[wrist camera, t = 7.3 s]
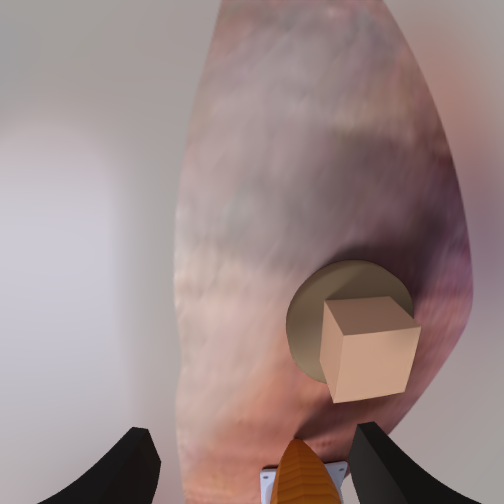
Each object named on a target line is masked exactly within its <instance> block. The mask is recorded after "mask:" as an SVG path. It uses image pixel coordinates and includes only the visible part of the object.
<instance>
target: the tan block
mask: <svg viewBox="0 0 504 504" xmlns="http://www.w3.org/2000/svg"><path fill="white" fill-rule="evenodd" d="M420 331H421V326H420V325H419V324H418V323H417V322H416V321H415V320H414V319H413V318H412V317H411V316H410V315H409V314H408V313H407V312H406V311H405V310H404V309H403V308H401V307H400V306H399V305H398V304H397V303H396V302H395V301H394V300H393V299H392V298H391V297H390V296H386V297H373V298H358V299H343V300H325V301H324V315H323V328H322V340H321V351H320V363H321V366H322V369H323V372H324V375H325V378H326V381H327V384H328V387H329V390H330V393H331V396H332V399H333V403H340V402H348V401H355V400H362V399H368V398H374V397H380V396H386V395H391V394H396V393H401V392H404V391H405V388H406V384H407V381H408V378H409V374H410V371H411V367H412V363H413V360H414V356H415V352H416V348H417V344H418V340H419V335H420Z"/></svg>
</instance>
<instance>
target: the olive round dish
mask: <svg viewBox="0 0 504 504" xmlns="http://www.w3.org/2000/svg"><path fill="white" fill-rule="evenodd" d="M386 296H390V297H391V298H392V299H393V300H394V301H395V302H396V303H397V304H398V305H399V306H400V307H401V308H403V309H404V310H405V311H406V312H407V313H408V314H409V315H410V316H411V317H412V318H414V311H413V304H412V300H411V297H410V294H409V292H408V290H407V289H406V287H405V286H404V284H403V283H402V282H401V281H400V280H399V279H398V278H396V277H395V276H394V275H392V274H391V273H390V272H388V271H387V270H385V269H384V268H383V267H381V266H379V265H377V264H375V263H373V262H370V261H366V260H358V259H350V260H343V261H339V262H335V263H332V264H330V265H327V266H325V267H323V268H322V269H320V270H318V271H317V272H315V273H314V274H312V275H311V276H310V277H309V278H308V279H307V280H306V281H305V282H304V283H303V284H302V285H301V286H300V287H299V289H298V290H297V292H296V293H295V295H294V297H293V299H292V301H291V303H290V306H289V308H288V312H287V317H286V333H287V338H288V343H289V348H290V352H291V355H292V357H293V359H294V361H295V363H296V364H297V366H298V367H299V368H300V369H301V370H302V371H303V372H304V373H305V374H306V375H308V376H309V377H311V378H312V379H314V380H317V381H319V382H322V383H326V384H327V381H326V378H325V375H324V372H323V369H322V366H321V363H320V351H321V340H322V328H323V315H324V301H325V300H343V299H358V298H373V297H386Z"/></svg>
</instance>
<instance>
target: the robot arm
mask: <svg viewBox="0 0 504 504" xmlns="http://www.w3.org/2000/svg"><path fill="white" fill-rule="evenodd" d="M348 460H349V465H350V471H351V476H352V480H353V484H354V487H355V490H356V493H357V496H358V499H359V502H360V504H481V503H479V502H476V501H474V500H472V499H470V498H468V497H465V496H463V495H461V494H460V493H458V492H456V491H454V490H452V489H450V488H449V487H447V486H446V485H444V484H443V483H441V482H440V481H438V480H437V479H435V478H434V477H432V476H431V475H430V474H428V473H427V472H426V471H425V470H424V469H422V468H421V467H420V466H419V465H418V464H416V463H415V462H414V461H413V460H412V459H411V458H410V457H409V456H408V455H407V454H405V453H404V452H403V451H402V450H401V449H400V448H399V447H398V446H397V445H396V444H395V443H394V442H393V441H392V440H391V439H390V438H389V437H388V436H387V435H386V433H385V432H384V431H383V430H382V429H381V428H380V427H379V426H378V425H377V424H376V423H375V422H374V421H373V422H368V423H362V424H357V428H356V432H355V436H354V439H353V443H352V447H351V450H350V454H349V457H348ZM324 465H325V467H326V469H327V471H328V473H329V474H330V476H331V478H332V480H333V482H334V484H335V487H336V489H337V491H338V493H339V496H340V499H341V503H342V504H344V502H343V498H342V494H341V490H340V487H341V485H342V482H343V479H344V476H345V473H346V470H347V466H348V464H347V462H346V461H341V462H335V463H328V464H324ZM160 466H161V460H160V458H159V456H158V453H157V451H156V448H155V446H154V443H153V441H152V438H151V435H150V433H149V430H148V429H144V428H137V427H132V428H131V429H130V430H129V431H128V432H127V433H126V434H125V435H124V436H123V437H122V438H121V439H120V440H119V441H118V442H117V443H116V444H115V445H114V446H113V447H112V448H111V449H110V450H109V452H107V453H106V454H105V455H104V456H103V457H102V458H101V459H100V460H99V461H98V462H97V463H96V464H95V465H94V466H93V467H91V468H90V469H89V470H88V471H87V472H85V473H84V474H83V475H82V476H81V477H80V478H78V479H77V480H76V481H74V482H73V483H72V484H70V485H69V486H67V487H66V488H65V489H63V490H61V491H60V492H58V493H57V494H55V495H53V496H51V497H50V498H48V499H46V500H44V501H42V502H40V503H38V504H151V503H152V500H153V497H154V494H155V491H156V488H157V484H158V479H159V473H160ZM276 470H277V469H263V470H261V471H260V480H261V500H262V504H270V500H271V494H272V488H273V483H274V479H275V474H276Z"/></svg>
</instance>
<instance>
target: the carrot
mask: <svg viewBox="0 0 504 504" xmlns="http://www.w3.org/2000/svg"><path fill="white" fill-rule="evenodd" d="M270 504H342V503H341V499H340V496H339V493H338V491H337V489H336V487H335V484H334V482H333V480H332V478H331V476H330V474H329V473H328V471H327V469H326V467H325V465H324V464H323V462H322V461H321V460H320V459H319V457H318V456H317V455H316V454H315V452H314V451H313V450H312V449H311V448H310V447H309V446H308V445H307V444H306V443H304V442H303V441H302V440H301V439H294V440H292V441H291V442H290V443H289V445H288V447H287V449H286V450H285V452H284V454H283V456H282V458H281V461H280V463H279V466H278V468H277V470H276V474H275V479H274V483H273V488H272V494H271V500H270Z"/></svg>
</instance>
